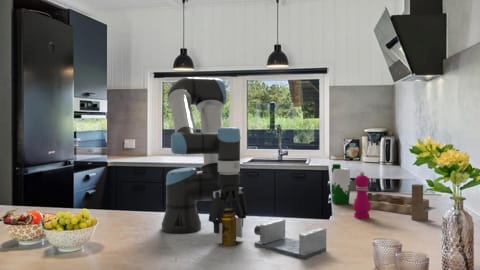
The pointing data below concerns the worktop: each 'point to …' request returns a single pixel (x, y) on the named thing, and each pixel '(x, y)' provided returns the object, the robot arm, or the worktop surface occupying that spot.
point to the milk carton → (340, 184)
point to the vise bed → (286, 247)
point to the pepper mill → (361, 197)
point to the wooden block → (418, 203)
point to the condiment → (228, 229)
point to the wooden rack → (390, 200)
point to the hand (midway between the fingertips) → (228, 239)
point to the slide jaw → (271, 231)
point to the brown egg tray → (393, 206)
